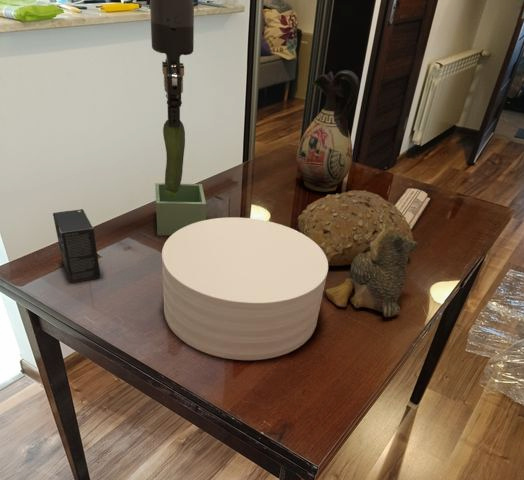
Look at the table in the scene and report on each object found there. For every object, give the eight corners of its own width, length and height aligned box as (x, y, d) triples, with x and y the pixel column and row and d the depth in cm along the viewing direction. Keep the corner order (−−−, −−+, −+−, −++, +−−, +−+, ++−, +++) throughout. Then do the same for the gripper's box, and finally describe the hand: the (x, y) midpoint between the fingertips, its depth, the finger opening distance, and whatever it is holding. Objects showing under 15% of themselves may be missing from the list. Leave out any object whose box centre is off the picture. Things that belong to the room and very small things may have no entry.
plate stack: (272, 384, 75) (281, 326, 68) (131, 319, 84) (125, 261, 76) (339, 301, 94) (352, 248, 87) (219, 255, 103) (221, 204, 96)
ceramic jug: (281, 184, 136) (297, 63, 117) (311, 171, 146) (329, 58, 127) (333, 204, 129) (358, 79, 110) (360, 189, 139) (388, 72, 120)
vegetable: (173, 190, 109) (172, 93, 96) (188, 196, 107) (189, 98, 94) (160, 196, 106) (157, 96, 93) (176, 202, 104) (175, 101, 91)
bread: (370, 221, 123) (383, 175, 116) (417, 264, 109) (435, 214, 101) (283, 228, 116) (289, 179, 108) (320, 275, 101) (331, 222, 93)
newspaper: (406, 192, 141) (408, 186, 140) (430, 199, 139) (432, 193, 138) (384, 221, 124) (386, 215, 123) (411, 229, 122) (413, 222, 121)
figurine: (348, 271, 103) (364, 204, 94) (412, 296, 98) (437, 229, 89) (318, 300, 94) (333, 229, 84) (388, 330, 89) (412, 258, 79)
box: (62, 262, 95) (52, 212, 88) (91, 258, 97) (84, 208, 90) (70, 283, 90) (60, 231, 83) (101, 278, 92) (94, 227, 85)
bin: (157, 235, 107) (155, 202, 102) (156, 214, 115) (155, 182, 110) (205, 235, 109) (206, 203, 104) (201, 214, 117) (201, 184, 112)
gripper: (150, 13, 90) (154, 112, 101) (151, 24, 80) (155, 134, 91) (190, 17, 92) (190, 114, 103) (196, 29, 81) (195, 136, 92)
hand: (173, 123), depth 97 cm, fingers closed on vegetable, 3 cm apart
